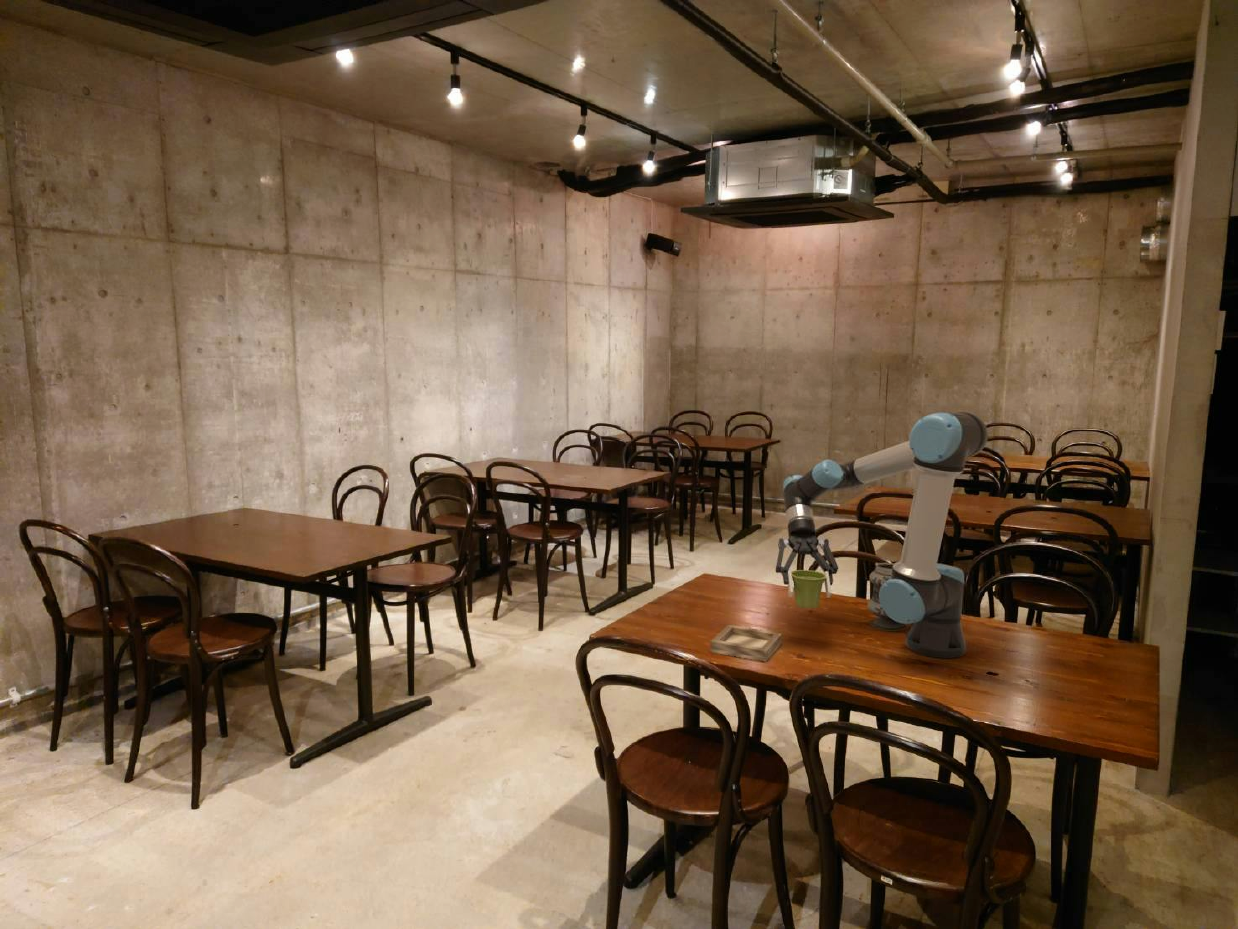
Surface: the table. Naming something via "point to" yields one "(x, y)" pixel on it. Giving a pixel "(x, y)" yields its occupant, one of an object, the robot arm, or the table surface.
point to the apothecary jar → (878, 579)
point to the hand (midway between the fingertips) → (810, 594)
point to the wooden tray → (746, 643)
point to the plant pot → (807, 587)
